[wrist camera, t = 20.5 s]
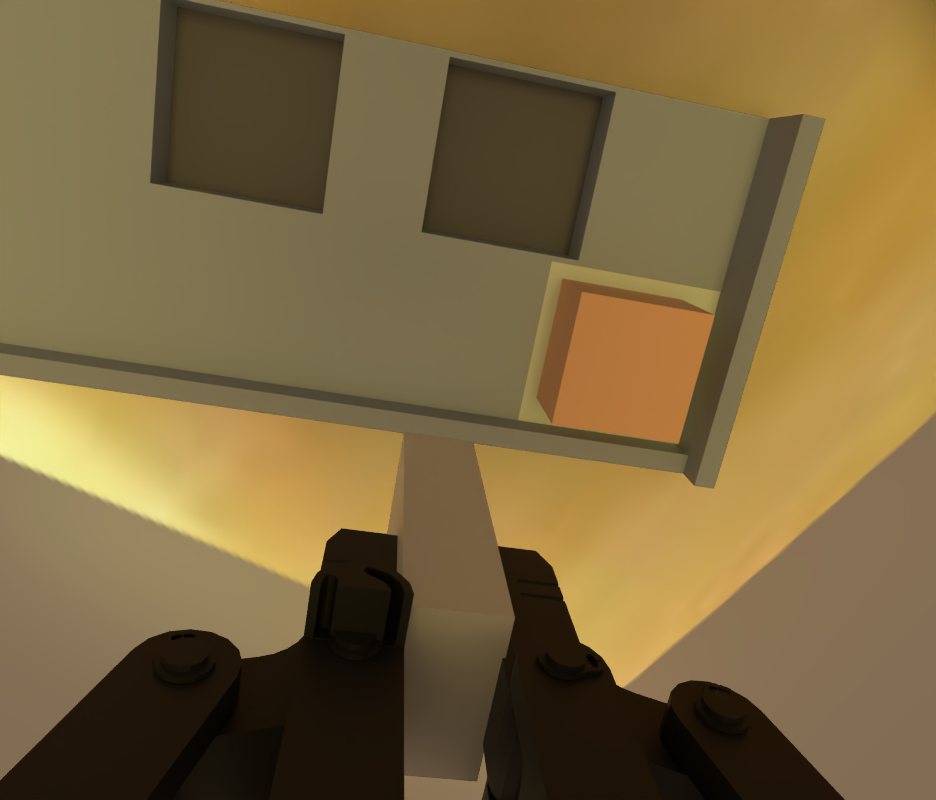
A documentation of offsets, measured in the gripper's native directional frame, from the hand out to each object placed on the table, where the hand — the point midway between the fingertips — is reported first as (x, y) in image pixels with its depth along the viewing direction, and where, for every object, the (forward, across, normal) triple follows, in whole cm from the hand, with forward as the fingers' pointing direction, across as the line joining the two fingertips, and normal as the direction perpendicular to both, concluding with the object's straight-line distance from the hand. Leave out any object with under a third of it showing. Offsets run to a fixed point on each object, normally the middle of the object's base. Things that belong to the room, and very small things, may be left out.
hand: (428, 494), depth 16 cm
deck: (+22, -3, +4) cm, 23 cm away
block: (+20, +10, 0) cm, 22 cm away
